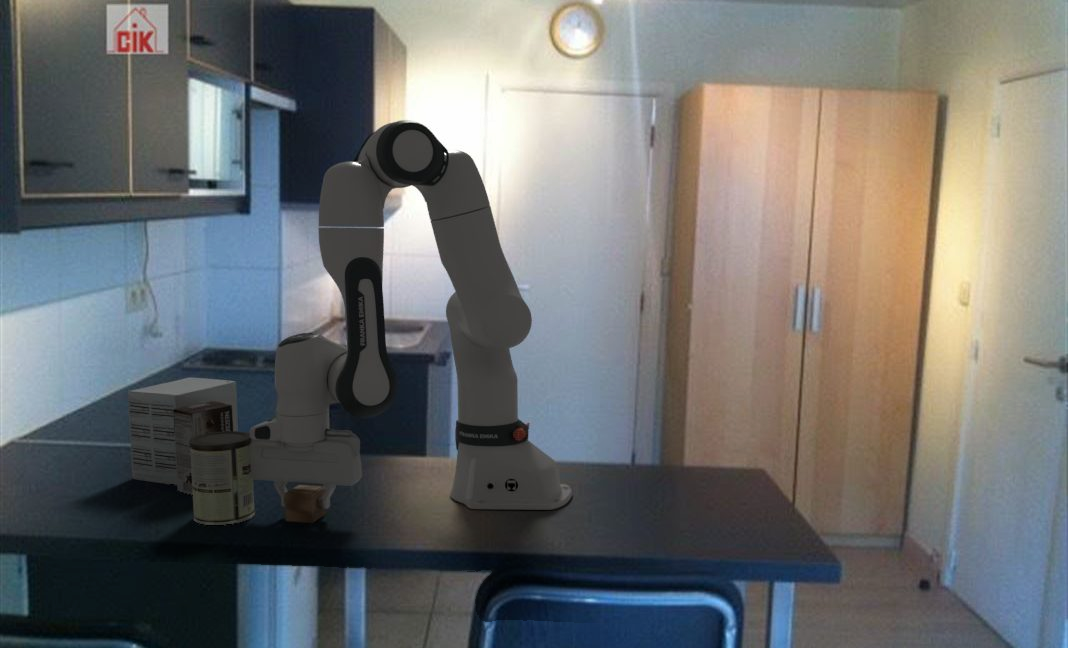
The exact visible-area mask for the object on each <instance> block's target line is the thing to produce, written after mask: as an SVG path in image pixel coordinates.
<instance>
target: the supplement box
mask: <svg viewBox="0 0 1068 648" xmlns="http://www.w3.org/2000/svg"><path fill="white" fill-rule="evenodd" d="M237 397H238V395H237V381H234V380H226V379H215V378H206V377H205V378H204V377H185V378H182V379H177V380H174V381H169V382H164V383H158V384H154V385H150V386H145V387H140V388H137V389H132V390H127V407H128V424H129V439H130V440H129V441H130V442H129V443H130V455H131V456H130V457H131V458H130V459H131V476H132V479H133V480H138V481H143V482H144V481H145V482H151V483H158V484H163V483H164V484H163V485H170V484H174V485H173V486H177V468H176V449H175V431H174V412H173V409H177V408H181V407H186V406H191V405H196V404H201V403H206V402H211V401H215V402H221V403H225V404H228V405H232V417H233V431H238V432H239V424H238V423H239V422H238V420H239V419H238V398H237Z"/></svg>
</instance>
